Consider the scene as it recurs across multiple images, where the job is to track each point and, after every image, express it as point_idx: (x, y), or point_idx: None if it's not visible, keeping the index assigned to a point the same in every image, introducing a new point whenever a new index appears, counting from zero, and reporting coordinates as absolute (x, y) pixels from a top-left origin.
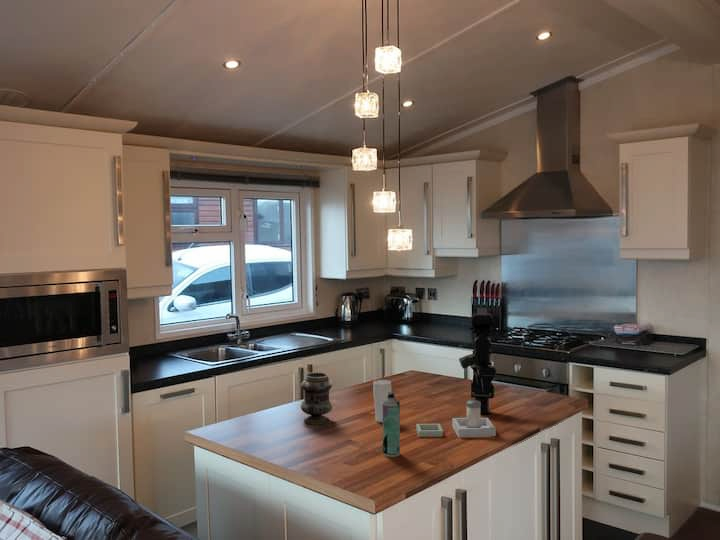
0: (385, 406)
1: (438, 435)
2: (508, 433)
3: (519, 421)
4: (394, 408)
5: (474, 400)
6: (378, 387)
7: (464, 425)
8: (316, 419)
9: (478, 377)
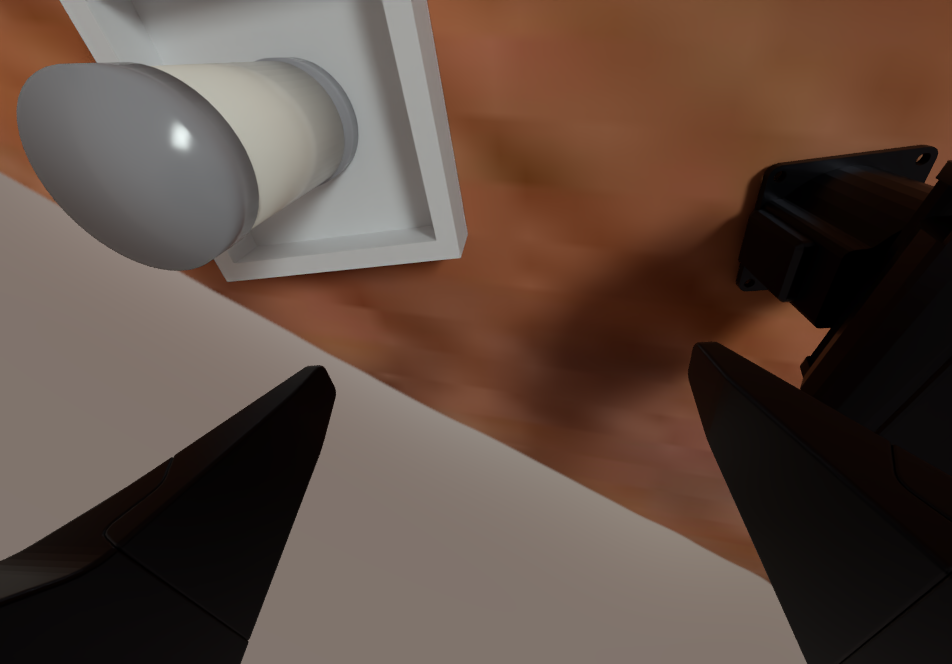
0: None
1: None
2: (349, 326)
3: (564, 399)
4: None
5: (203, 200)
6: None
7: (383, 39)
8: None
9: (797, 482)
